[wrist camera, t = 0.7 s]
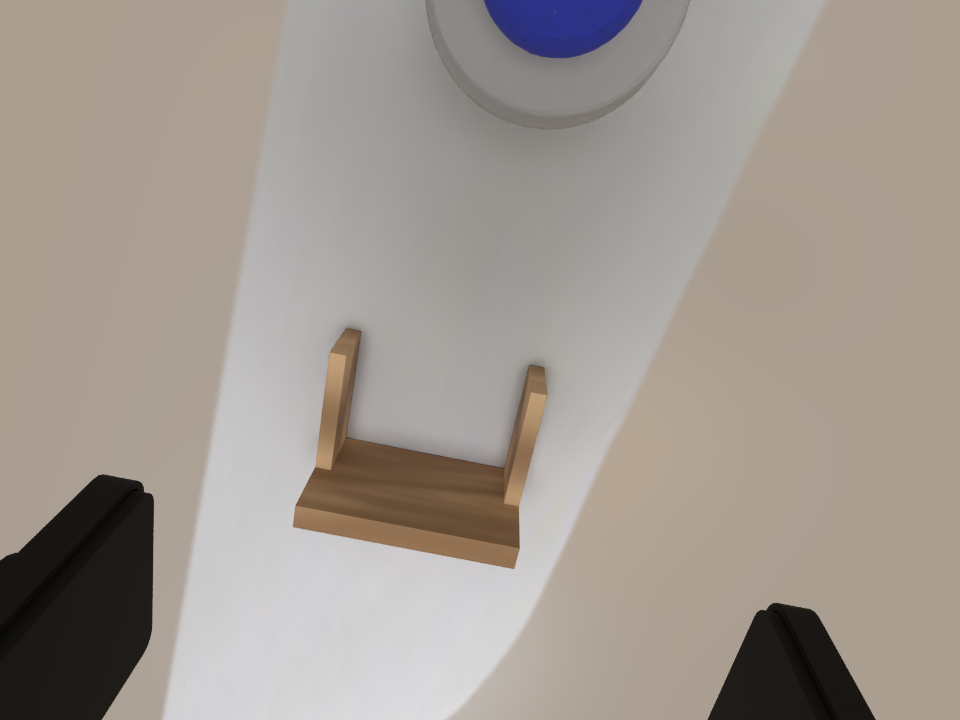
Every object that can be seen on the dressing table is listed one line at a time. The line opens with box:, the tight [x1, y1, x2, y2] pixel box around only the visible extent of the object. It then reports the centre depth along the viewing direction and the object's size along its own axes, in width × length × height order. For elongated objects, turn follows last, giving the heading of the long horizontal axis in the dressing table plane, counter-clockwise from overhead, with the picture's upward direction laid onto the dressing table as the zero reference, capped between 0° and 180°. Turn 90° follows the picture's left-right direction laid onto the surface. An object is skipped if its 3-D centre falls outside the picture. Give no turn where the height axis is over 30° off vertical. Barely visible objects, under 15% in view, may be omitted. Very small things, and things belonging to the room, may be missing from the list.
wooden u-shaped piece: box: [293, 329, 547, 569], centre depth 35 cm, size 8×11×7 cm
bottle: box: [426, 0, 690, 129], centre depth 22 cm, size 7×7×20 cm
